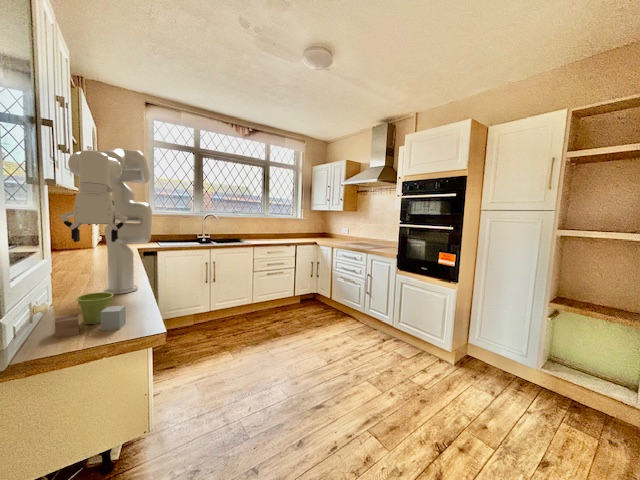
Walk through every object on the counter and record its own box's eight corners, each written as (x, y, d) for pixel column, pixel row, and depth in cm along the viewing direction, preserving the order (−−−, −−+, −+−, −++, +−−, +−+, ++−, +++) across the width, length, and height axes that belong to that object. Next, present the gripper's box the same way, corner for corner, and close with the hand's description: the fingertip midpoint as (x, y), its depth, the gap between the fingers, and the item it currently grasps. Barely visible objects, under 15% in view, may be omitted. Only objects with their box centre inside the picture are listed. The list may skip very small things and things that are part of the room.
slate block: (107, 324, 87) (107, 306, 87) (125, 323, 89) (125, 305, 88) (100, 330, 83) (99, 312, 82) (119, 329, 84) (119, 311, 84)
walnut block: (56, 332, 80) (55, 316, 79) (78, 328, 83) (78, 313, 83) (55, 339, 76) (54, 322, 76) (78, 334, 80) (78, 318, 79)
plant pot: (106, 313, 95) (106, 290, 95) (118, 320, 91) (118, 295, 90) (72, 322, 87) (71, 296, 87) (84, 329, 83) (83, 302, 82)
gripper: (128, 193, 94) (129, 241, 95) (64, 188, 86) (65, 240, 87) (125, 191, 88) (125, 242, 89) (54, 186, 80) (56, 242, 81)
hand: (95, 241), depth 88 cm, fingers open, 9 cm apart
